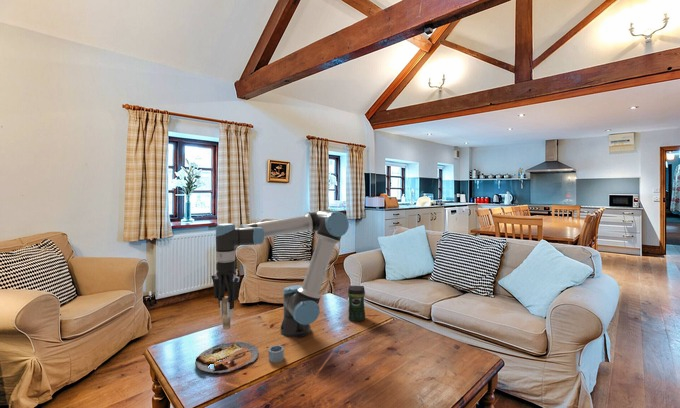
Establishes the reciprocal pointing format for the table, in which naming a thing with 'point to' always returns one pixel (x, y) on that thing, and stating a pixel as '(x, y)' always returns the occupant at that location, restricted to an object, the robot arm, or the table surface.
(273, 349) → the cup
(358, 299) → the coffee jar
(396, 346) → the table surface
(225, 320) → the pestle
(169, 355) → the table surface
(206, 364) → the food plate
